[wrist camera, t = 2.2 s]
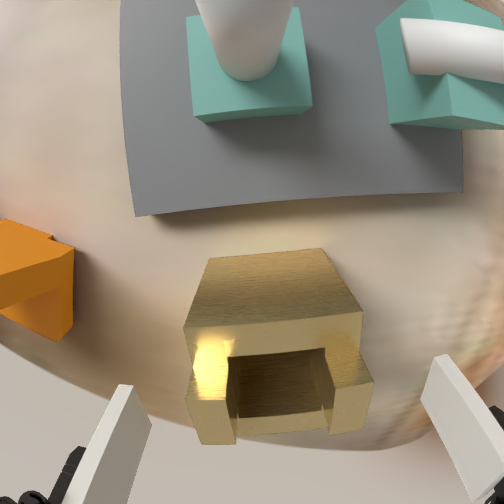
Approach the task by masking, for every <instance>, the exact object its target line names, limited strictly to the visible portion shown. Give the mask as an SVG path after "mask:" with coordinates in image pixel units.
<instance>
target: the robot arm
mask: <svg viewBox="0 0 504 504" xmlns="http://www.w3.org/2000/svg"><path fill="white" fill-rule="evenodd" d="M420 401H421V402H422V404H423V406H424V408H425V410H426V411H427V413H428V415H429V417H430V419H431V421H432V423H433V424H434V426H435V428H436V430H437V432H438V434H439V436H440V438H441V440H442V442H443V443H444V445H445V447H446V449H447V451H448V453H449V455H450V457H451V459H452V461H453V463H454V466H455V468H456V470H457V472H458V474H459V476H460V478H461V480H462V482H463V484H464V487H465V489H466V491H467V493H468V496H469V498H470V500H471V502H472V503H473V502H474V501H476V500H478V499H480V498H482V497H484V496H485V495H487V494H488V493H489V492H490V491H491V490H492V489H493V488H494V490H495V492H494V493H493V494H492V496H490V497H489V498H488V499H487V500H486V502H485V504H488V503H489V502H490V501H491V503H490V504H504V412H503V411H502V410H500V409H499V408H497V407H496V406H492V407H490V408H487V406H486V405H485V403H484V402H483V401H482V399H481V398H480V396H479V395H478V394H477V392H476V391H475V390H474V388H473V387H472V386H471V384H470V383H469V382H468V380H467V379H466V378H465V376H464V375H463V374H462V372H461V371H460V370H459V369H458V367H457V366H456V365H455V363H454V362H453V361H452V360H451V358H450V357H449V356H448V355H447V354H444V355H440V356H437V357H433V361H432V364H431V368H430V371H429V374H428V378H427V381H426V384H425V387H424V390H423V393H422V396H421V398H420ZM151 426H152V424H151V422H150V420H149V418H148V416H147V414H146V412H145V409H144V407H143V405H142V403H141V401H140V399H139V396H138V394H137V392H136V389H135V387H134V385H122V384H119V385H118V387H117V389H116V391H115V393H114V395H113V396H112V398H111V400H110V402H109V404H108V406H107V408H106V410H105V412H104V414H103V416H102V418H101V420H100V422H99V424H98V426H97V428H96V430H95V432H94V434H93V436H92V438H91V440H90V442H89V444H88V447H87V448H84V447H80V446H78V447H77V448H76V449H75V450H74V451H73V452H72V453H70V455H69V458H68V459H67V461H66V465H64V467H63V469H62V473H61V474H60V476H59V478H58V480H57V482H56V484H55V486H54V488H53V490H52V492H51V495H50V497H49V498H48V500H47V499H46V498H45V497H44V496H43V495H41V494H40V493H39V492H36V491H27V492H25V493H23V494H22V495H21V497H20V499H19V501H18V504H127V501H128V498H129V494H130V491H131V488H132V485H133V481H134V478H135V475H136V472H137V469H138V466H139V462H140V460H141V456H142V453H143V450H144V447H145V444H146V441H147V438H148V435H149V432H150V429H151ZM0 504H17V503H16V502H15V501H13V500H12V499H11V498H9V497H6V496H4V497H0Z"/></svg>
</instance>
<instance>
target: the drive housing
mask: <svg viewBox="0 0 504 504" xmlns="http://www.w3.org/2000/svg"><path fill="white" fill-rule="evenodd" d="M120 81H121V100H122V114H123V126H124V137H125V147H126V155H127V164H128V171H129V179H130V186H131V193H132V199H133V205H134V211H135V217H140V216H148V215H155V214H162V213H170V212H178V211H186V210H195V209H203V208H212V207H221V206H231V205H240V204H251V203H261V202H273V201H284V200H297V199H310V198H325V197H341V196H359V195H380V194H407V193H463V147H462V131H461V130H470V129H495V130H504V27H503V23H502V20H501V18H500V17H498V16H496V15H494V14H492V13H490V12H488V11H486V10H484V9H482V8H480V7H478V6H475V5H473V4H471V3H468V2H466V1H463V0H121V7H120Z"/></svg>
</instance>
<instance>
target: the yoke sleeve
mask: <svg viewBox="0 0 504 504" xmlns="http://www.w3.org/2000/svg"><path fill="white" fill-rule="evenodd" d="M362 320H363V310H362V308H361V307H360V305H359V304H358V302H357V301H356V299H355V298H354V296H353V295H352V293H351V292H350V290H349V289H348V287H347V286H346V284H345V283H344V281H343V280H342V278H341V277H340V275H339V274H338V272H337V271H336V269H335V268H334V267H333V265H332V264H331V262H330V261H329V259H328V258H327V256H326V255H325V254H324V252H323V251H322V249H321V248H319V249H308V250H297V251H287V252H276V253H265V254H254V255H243V256H233V257H222V258H211V259H209V260H208V263H207V265H206V268H205V271H204V273H203V276H202V279H201V281H200V284H199V286H198V289H197V292H196V294H195V297H194V300H193V302H192V305H191V308H190V311H189V313H188V316H187V319H186V322H185V324H184V327H183V330H184V334H185V338H186V342H187V346H188V350H189V354H190V357H191V361H192V365H193V370H192V374H191V378H190V382H189V386H188V390H187V395H186V399H185V401H186V404H187V407H188V410H189V413H190V415H191V418H192V421H193V424H194V426H195V429H196V431H197V434H198V437H199V439H200V442H201V444H204V445H230V444H236V436H242V435H261V434H274V433H285V432H294V431H303V430H310V429H317V428H324V427H328V430H329V434H330V435H335V434H340V433H346V432H351V431H356V430H360V429H363V427H364V423H365V419H366V415H367V411H368V407H369V403H370V398H371V394H372V389H373V384H374V381H373V379H372V377H371V375H370V373H369V371H368V369H367V366H366V364H365V362H364V360H363V358H362V356H361V354H360V352H359V349H360V340H361V330H362Z"/></svg>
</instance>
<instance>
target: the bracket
mask: <svg viewBox="0 0 504 504" xmlns="http://www.w3.org/2000/svg"><path fill="white" fill-rule="evenodd" d="M52 237H53V235H50V234H47V233H44V232H41V231H39V230H36V229H33V228H30V227H27V226H24V225H22V224H19V223H16V222H13V221H10V220H8V219H3V220H0V314H2V315H4V316H5V317H7V318H9V319H11V320H13V321H14V322H16V323H18V324H20V325H22V326H24V327H26V328H28V329H30V330H32V331H34V332H36V333H38V334H40V335H42V336H44V337H46V338H48V339H50V340H52V341H56V342H57V341H60V340H61V339H62V338H63V337H64V335H65V334H66V333H67V332H68V331H69V330H70V329H71V327H72V326H73V267H74V249H75V248H74V247H71V246H68V245H65V244H62V243H59V242H56V241H53V240H52Z"/></svg>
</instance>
